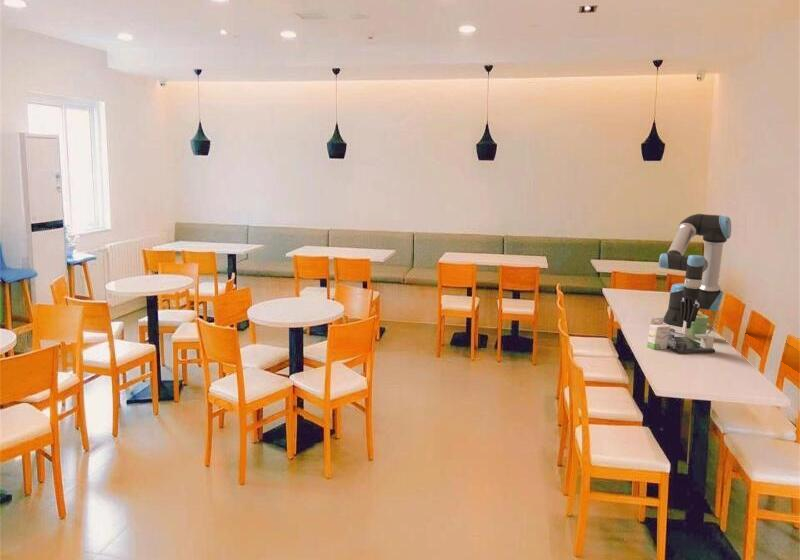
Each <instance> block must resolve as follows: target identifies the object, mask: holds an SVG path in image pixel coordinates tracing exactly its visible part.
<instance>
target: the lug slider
mask: <svg viewBox="0 0 800 560" xmlns="http://www.w3.org/2000/svg"><path fill="white" fill-rule="evenodd" d="M695 336H696V337H698V338H701V340H700V342H699V343H700V347H703V348H705V349H707V348H713V347H714V340H715V335H712V334H710V333H709V334H707V333H706V334H697V335H695Z"/></svg>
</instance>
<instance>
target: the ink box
mask: <svg viewBox="0 0 800 560" xmlns="http://www.w3.org/2000/svg"><path fill="white" fill-rule="evenodd" d="M663 320H664V317H654V318H653V317H652V318H651V321H650V324H649V330H648V338H647V339H648V340H647V344H646V347H647V348H650V349H652V350H662V349H664V350H665V349H668V348H667V344H668V337H669V330H670V329H671V326H670V324H667V323H664V322H663Z"/></svg>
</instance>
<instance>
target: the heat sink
mask: <svg viewBox="0 0 800 560" xmlns="http://www.w3.org/2000/svg"><path fill="white" fill-rule="evenodd" d="M668 343H670V344H672V345H674V346H684V344H685V343H689V340H687V339H685V338H683V337H682V336H674V337H668Z"/></svg>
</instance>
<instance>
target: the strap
mask: <svg viewBox="0 0 800 560" xmlns="http://www.w3.org/2000/svg"><path fill="white" fill-rule="evenodd" d="M669 334H672V335H675V336H676V337H686V338H694V336H692V335H684V334H682V332H676V331H675V332H672V331H669Z"/></svg>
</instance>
